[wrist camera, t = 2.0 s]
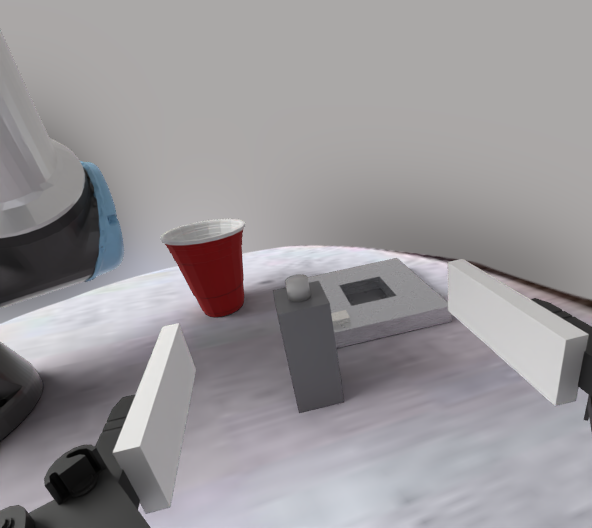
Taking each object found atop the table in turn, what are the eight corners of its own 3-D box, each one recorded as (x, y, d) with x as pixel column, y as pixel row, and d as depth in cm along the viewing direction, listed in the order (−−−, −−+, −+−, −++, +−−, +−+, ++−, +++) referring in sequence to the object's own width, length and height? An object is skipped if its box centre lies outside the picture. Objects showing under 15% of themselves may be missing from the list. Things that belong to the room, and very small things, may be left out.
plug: (299, 413, 29) (273, 297, 25) (292, 380, 33) (269, 274, 28) (344, 401, 30) (327, 285, 25) (332, 371, 33) (316, 264, 29)
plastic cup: (277, 293, 50) (260, 214, 45) (224, 335, 42) (196, 245, 37) (226, 282, 56) (206, 211, 51) (171, 317, 48) (142, 238, 44)
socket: (326, 350, 36) (323, 330, 35) (304, 290, 49) (301, 274, 48) (451, 321, 37) (451, 300, 36) (397, 270, 50) (396, 254, 49)
